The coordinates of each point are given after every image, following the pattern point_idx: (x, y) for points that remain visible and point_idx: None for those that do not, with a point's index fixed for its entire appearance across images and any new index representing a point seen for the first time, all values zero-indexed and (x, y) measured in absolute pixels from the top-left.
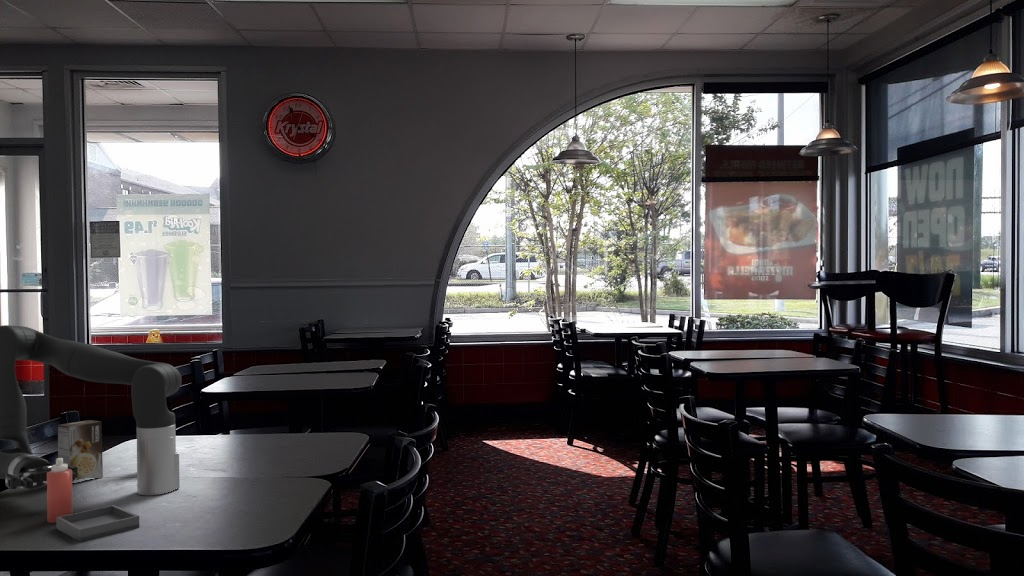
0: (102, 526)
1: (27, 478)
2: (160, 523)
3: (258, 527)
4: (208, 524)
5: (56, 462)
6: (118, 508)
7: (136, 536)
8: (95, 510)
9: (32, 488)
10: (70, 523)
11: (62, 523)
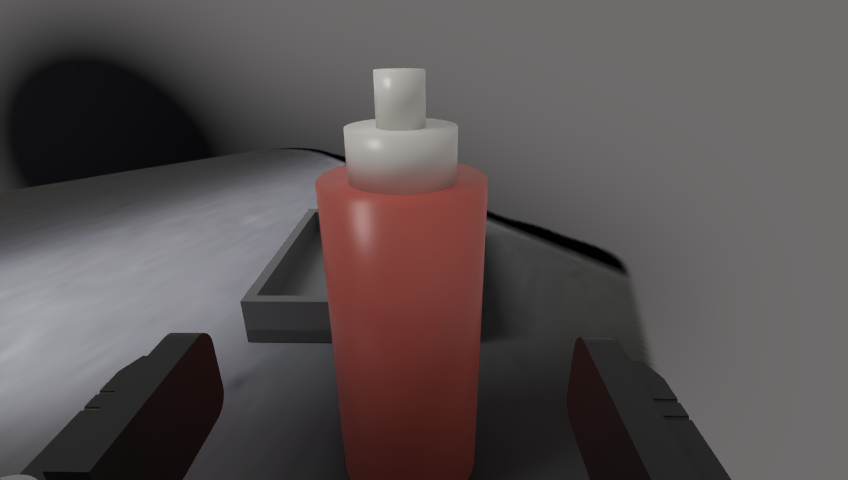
0: None
1: (647, 420)
2: (264, 235)
3: (222, 171)
4: (233, 199)
5: (424, 97)
6: (275, 265)
7: None
8: (324, 299)
9: (572, 404)
10: None
11: None
